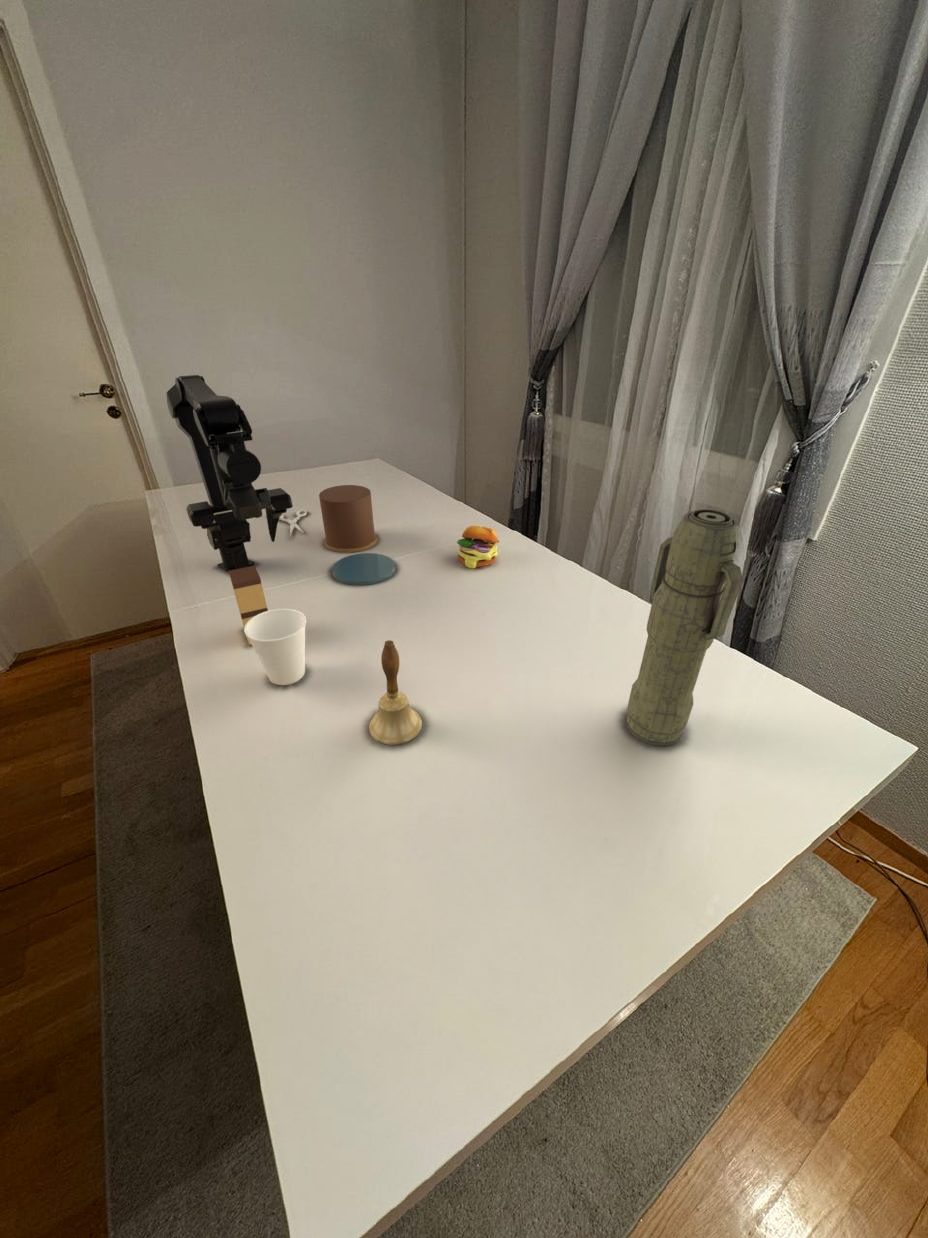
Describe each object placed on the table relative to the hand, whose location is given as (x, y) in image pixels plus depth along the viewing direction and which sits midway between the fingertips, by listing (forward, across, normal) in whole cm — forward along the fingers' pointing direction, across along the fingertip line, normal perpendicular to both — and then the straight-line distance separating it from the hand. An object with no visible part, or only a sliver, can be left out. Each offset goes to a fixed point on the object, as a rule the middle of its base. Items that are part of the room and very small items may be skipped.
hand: (250, 546), depth 106 cm
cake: (+13, +29, +19) cm, 37 cm away
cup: (+14, -4, -28) cm, 32 cm away
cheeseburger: (+14, +51, -9) cm, 53 cm away
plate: (+13, +25, +2) cm, 28 cm away
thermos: (+14, +41, -72) cm, 84 cm away
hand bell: (+14, +7, -50) cm, 52 cm away
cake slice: (+13, -4, -12) cm, 19 cm away
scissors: (+13, +19, +39) cm, 45 cm away
